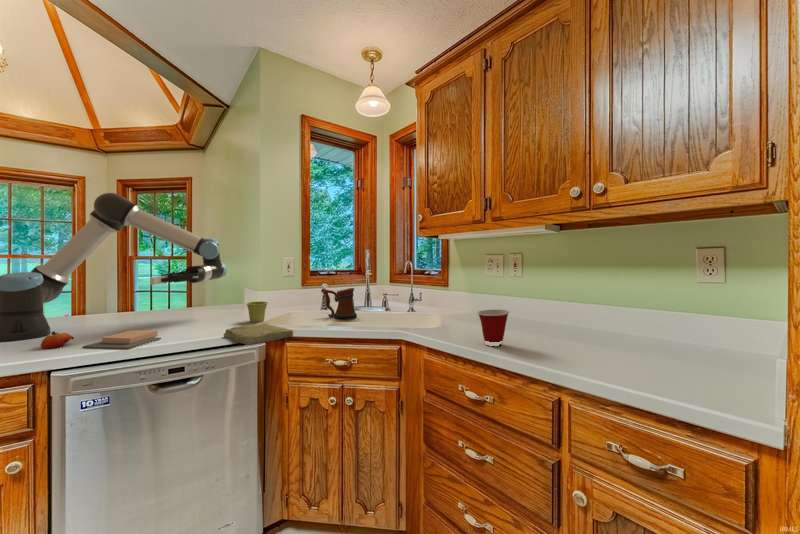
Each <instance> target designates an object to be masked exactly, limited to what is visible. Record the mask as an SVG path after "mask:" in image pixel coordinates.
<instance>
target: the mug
mask: <svg viewBox="0 0 800 534" xmlns="http://www.w3.org/2000/svg"><path fill="white" fill-rule="evenodd" d="M354 291H355V287H350V288H346V289H340V290H337V291H334V290H329V289H325V288H321V290H320V292H321V293H323V294H324V295H325V299H326V300H325V307H326V308H327V309H328V310H330V312H331V313H328V314H327V316H328V317H329V318H334V319H338V320H352V319H356V318H357V317H358V314H357V313H356V311H355V307H354V300H353V299H354ZM329 294H333V296H334V298H333V299H334V301H335V303H338V304H337V308H336V310H335V309H334V308H333V307H332V306H331V297H330V295H329Z"/></svg>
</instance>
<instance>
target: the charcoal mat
mask: <svg viewBox="0 0 800 534" xmlns="http://www.w3.org/2000/svg"><path fill="white" fill-rule="evenodd" d="M158 339H161V340H162V337H153V338H150V339H146V340H143V341H140V342H136V343H133V344H105V343H102V340H100V341H98V342H94V343H89V344H85V345H82V349H99V348H101V349H102V350H103V349H104V350H105V349H106V350H107V349H109V350H131V349H135V348H137V347H136V346H138V347H140V346H139V345H141V346H143V345H142V344H144V345H146V344H145V343H148V344H150V343H149V342H151V343H153V342H152V341H154V342H156V341H155V340H157V341H159V340H158ZM134 347H135V348H134Z"/></svg>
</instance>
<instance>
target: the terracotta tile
mask: <svg viewBox="0 0 800 534" xmlns="http://www.w3.org/2000/svg"><path fill="white" fill-rule="evenodd" d="M158 333H159V332H158V330H140V329H139V330H138V329H137V330H136V329H132V330H127V331H123V332H120V333H119V332H118V333H115V334H112V335H106V336H103V337H102V338H101V339H102V340H101V341H102V343H105V344H133V343H136V342H140V341H143V340H146V339H150V338H153V337H156V338H158V336H159V335H158Z"/></svg>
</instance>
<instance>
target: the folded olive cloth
mask: <svg viewBox="0 0 800 534" xmlns="http://www.w3.org/2000/svg"><path fill="white" fill-rule="evenodd" d="M223 337H224V338H227V339H231V340H232V341H234V342H236V343H238V344H239V343H240V344H244V345H246V346H252V345H257V344H263V343H268V342H272V341H277V340H281V339H287V338H291V337H294V330H293V329H290V328H289V329H288V328H286V327H281V326H277V325H273V324H272V325H271V324H268V323H258V324H256V323H255V324H254V323H253V324H246V325H242V326H234V327H233V326H232V327H231V328H226V330H225V332H224V333H223Z"/></svg>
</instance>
